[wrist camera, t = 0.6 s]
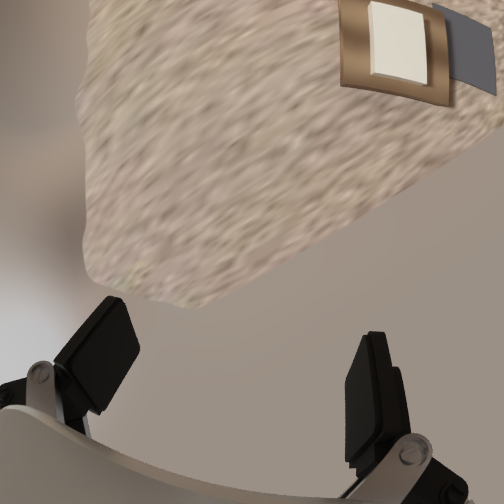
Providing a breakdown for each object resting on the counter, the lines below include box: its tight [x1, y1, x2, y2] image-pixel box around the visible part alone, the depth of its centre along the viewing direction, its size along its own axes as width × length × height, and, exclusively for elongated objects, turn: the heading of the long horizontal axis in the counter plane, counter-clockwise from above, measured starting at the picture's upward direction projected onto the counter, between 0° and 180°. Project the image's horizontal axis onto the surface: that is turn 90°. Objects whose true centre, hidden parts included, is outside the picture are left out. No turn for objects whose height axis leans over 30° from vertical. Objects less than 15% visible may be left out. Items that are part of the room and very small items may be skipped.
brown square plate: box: [338, 0, 449, 106], centre depth 22 cm, size 13×13×3 cm
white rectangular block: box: [368, 1, 427, 86], centre depth 20 cm, size 9×6×2 cm, turn 0°
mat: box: [432, 3, 496, 96], centre depth 19 cm, size 11×10×1 cm
